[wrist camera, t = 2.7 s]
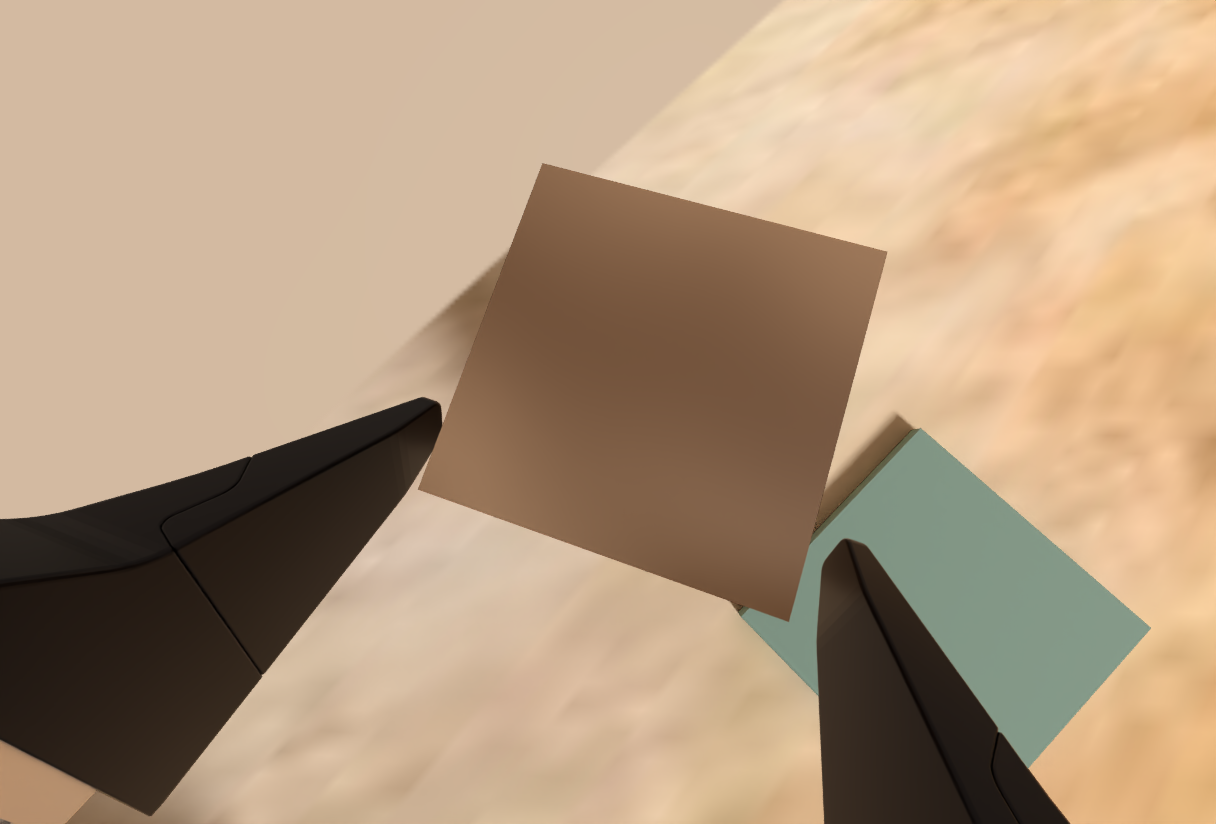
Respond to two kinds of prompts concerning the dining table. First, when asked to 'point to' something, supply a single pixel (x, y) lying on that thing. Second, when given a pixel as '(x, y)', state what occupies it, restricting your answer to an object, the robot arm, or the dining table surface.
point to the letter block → (661, 385)
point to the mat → (971, 593)
